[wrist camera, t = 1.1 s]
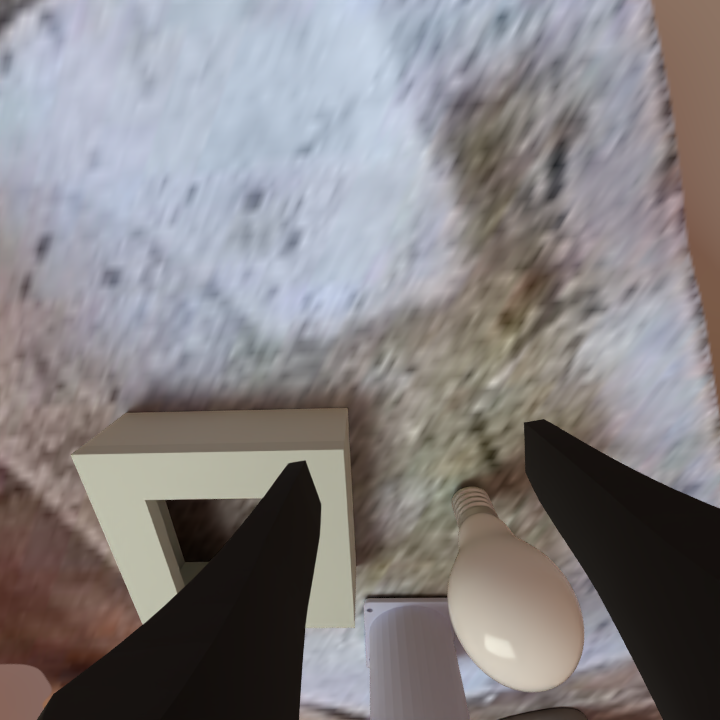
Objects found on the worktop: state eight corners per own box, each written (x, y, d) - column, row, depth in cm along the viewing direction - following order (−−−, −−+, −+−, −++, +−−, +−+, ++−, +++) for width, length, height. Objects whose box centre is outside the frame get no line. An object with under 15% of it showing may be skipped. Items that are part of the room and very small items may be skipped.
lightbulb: (521, 509, 25) (630, 704, 15) (442, 536, 26) (492, 734, 16) (495, 446, 23) (600, 620, 13) (410, 478, 24) (444, 661, 14)
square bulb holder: (356, 567, 28) (354, 627, 23) (177, 568, 28) (144, 628, 24) (347, 407, 22) (343, 449, 18) (125, 412, 22) (70, 454, 18)
